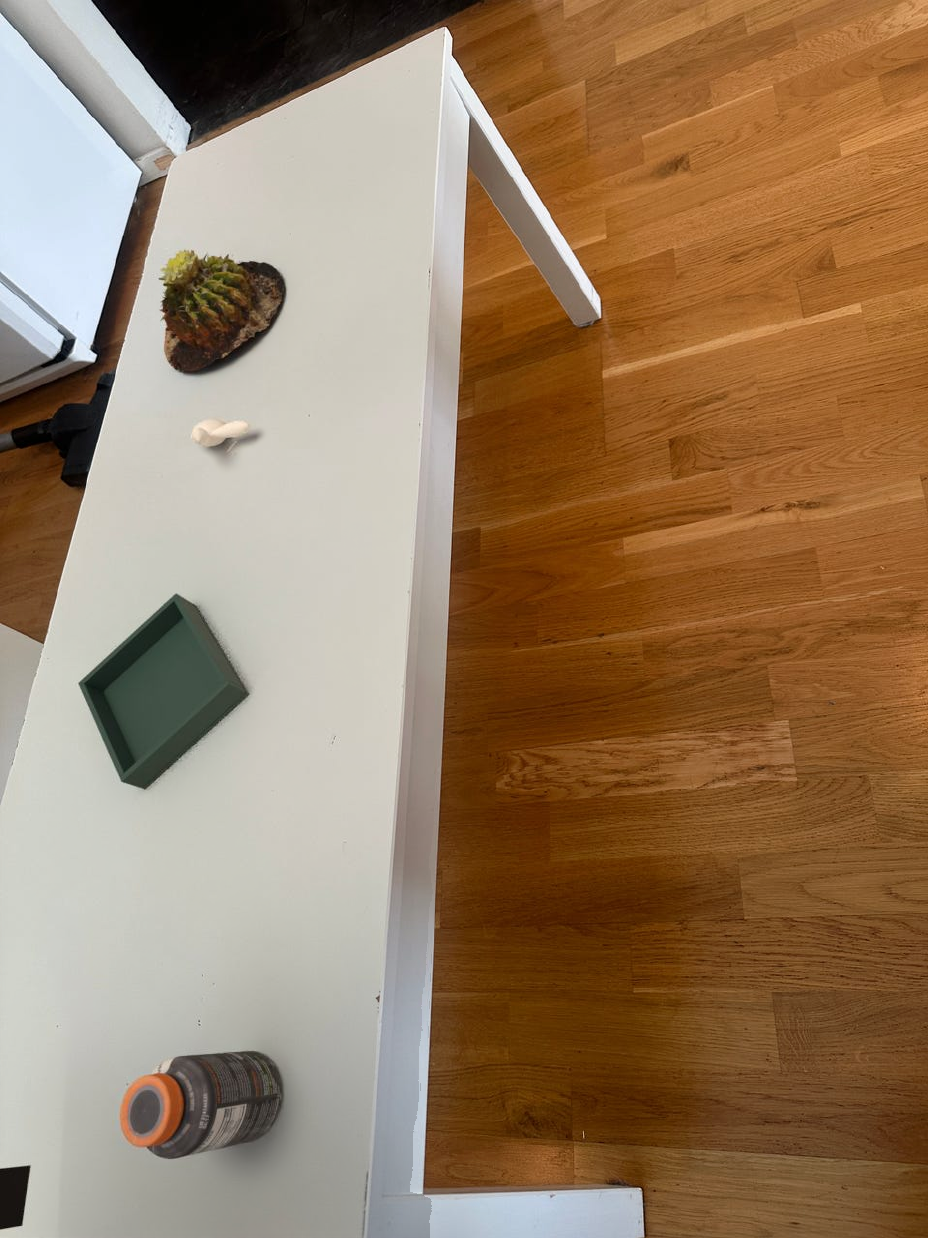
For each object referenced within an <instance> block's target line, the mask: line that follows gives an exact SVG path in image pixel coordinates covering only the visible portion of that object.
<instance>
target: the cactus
mask: <svg viewBox="0 0 928 1238" xmlns="http://www.w3.org/2000/svg"><path fill="white" fill-rule="evenodd" d="M174 254H175V256H174V258H173V257H170V258H168V260H167V263H165V264H164V266H166V267H162V268H160V269H159V270H160V272H163V276H161V277H158V280H159V281H164V282H163V283H162V286H163V287H166V289H165V288H164V291H162V294H164V296H163V299H162V300H161V301H160V303H161V305H160V307H162V308H161V309H159V311H160V312H162V313H163V314H164V315H162V318H161V319H160V321H164V322H165V334H164V335H165V336H164V343H163V352H164V356H165V358H166V361H167V362H168V364H169V365H170V366H171V367H173V369H175V370H177V371H179V372H180V373H183V372H187V371H188V372H193V371H196V370H197V371H198V370H201V369H204V368H205V367H208V366H210V365H212V364H213V362H214V361H215V360H222V359H223V358H225V357H226V356H228V355H229V353H231V352H232V351H234V350H235V349H237V348H238V347H239V346H243V342H247V341H248V340H249V339H250V338H251V337H252V338H255V336H256V334H255V333H260V332H262V331H264V330H266V328H267V327H268V326H270V324H271V320H272V319H273V317H274V316H275V314H276V313H277V311H278V309H279V305H280V304H281V301H283V299H282V298H283V293H284V292H285V283H284V281H283V278H282V275H281V272H280V271H279V269H277V268H276V267H274V265H272V264H270V263H267V262H265V261H262V262H258V261H255V260H253V261H252V260H249V261H243V260H241V261H240V260H239V261H238V262H235V261H234V260H233V259H231V258H229V257H230V253H227V254H226V256H225V257H224V258H223V256H222V255H219V256H217V255H210V256H209V255H208V254H209V253H208V251H207V252H206V254H205V255H204V256H203V258H199V256H198V254H196V253H195V250H192V249H191V250H189V249H186V248H184V249H183V250H178V253H177V252H174ZM233 255H234V254H231V257H232V258H233Z"/></svg>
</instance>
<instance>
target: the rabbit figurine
mask: <svg viewBox="0 0 928 1238" xmlns="http://www.w3.org/2000/svg"><path fill="white" fill-rule="evenodd" d="M250 429H251V423H249V422H248V421H246V420H234V421H230V422H227V423H226V422H225V421H223V420H222V419H219V418H207V419H204V420H202V421H199V422H198V423H197V424H195V426H194V427H193V428H192V430H191V435H190V437H189V438H190V439H191V440H192V441H193V442H194V444H196V445H198V446H201V447H215V446H218V445H220V444H222V443H223V442H224V441H225V440H226V439H227V438H228V439H229V438H234V437H239V436H242V435H244V434H245V433H247V432H248V431H249V430H250ZM237 443H238V441H237V440H235V441H234V442H233V443H232V444H231V445H230V446H229V448H227V450H226V453H229V452H230V451H231V450H232V449H233V448H234V446H235V445H236V444H237Z"/></svg>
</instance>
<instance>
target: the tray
mask: <svg viewBox="0 0 928 1238" xmlns="http://www.w3.org/2000/svg"><path fill="white" fill-rule="evenodd" d="M78 687H79V689H80V691H81V693H82V695H83V697H84V700H85V702H86V704H87V707H88V710H89V712H90V714H91V716H92V718H93V720H94V721H93V722H94V723H95V725H96V727H97V730H98V731H99V734H100V737H101V739H102V741H103V743H104V745H105V746H104V747H105V748H106V750H107V753H108V755H109V757H110V759H111V762H112V764H113V766H114V769H115V771H116V773H117V775H118V777H119V780H120V782H121V783H123V784H126V785H130V786H133V787H136V788H139V789H143V790H146V789H147V788H148V787H149V786H150V785H151V784H153V782H155V781H156V780H157V779H158V778H159V777H160V776H161V775H162V774H164V772H166V771H167V770H168V769H169V768H170V767H171V766H172V765H173V764H174V763H175V762H176V761H178V760H179V759H180V758H181V757H183V755H185V753H186V752H188V751H189V750H190V749H191V748H192V747H193V746H194V745H195V744H196V743H198V742H199V741H200V740H201V739H202V738H203V737H204V736H205V735H206V734H207V733H209V732H210V730H212V729H213V728H214V727H215V726H216V725H218V723H220V722H221V721H222V720H223V719H224V718H225V717H226V716H227V715H228V714H229V713H231V712H232V710H234V709H235V708H236V707H237V706H238V705H240V703H241V702H243V701H244V699H246V698H247V697H248V696H250V695H249V692H248V690H247V689H246V686H245V685H244V683H243V682H242V680H241V678H240V677H239V675H238V674H237V671H236V670H235V668H234V666H233V665H232V663H231V662H230V660H229V658H228V657H227V655H226V653H225V652H224V650H223V648H222V646H221V645H220V643H219V642H218V640H217V638H216V637H215V635H214V633H213V631H212V630H211V628H210V627H209V625H208V623H207V621H206V620H205V618H204V617H203V615H202V613H201V612H200V609H199V608H198V606H197V604H195V603H193V602H191V601H189V599H186V598H185V597H183V596H181V595H180V594H178V593H174V594H173V595H172V596H171V597H170V598H168V599H167V601H165V603H163V604H162V606H160V607H158V609H157V610H156V611H154V612H153V614H152V615H150V617H149V618H147V619H146V620H145V621H144V622H143V623H141V625H140V626H138V627H137V628H136V629H135V630H134V631H133V632H132V633H131V634H130V635H129V636H128V637H126V639H125V640H123V641H122V642H121V643H120V644H118V646H116V648H115V649H113V651H111V652H110V653H109V654H108V655H107V656H106V657H105V658H103V660H101V661H100V662H99V663H98V664H97V665H96V666H94V667H93V669H91V671H90V672H89V673H87V674H86V675H85V676H84V677H83V678H82V679H81V680H80V681H78Z"/></svg>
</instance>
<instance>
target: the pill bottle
mask: <svg viewBox="0 0 928 1238" xmlns="http://www.w3.org/2000/svg"><path fill="white" fill-rule="evenodd" d="M282 1097H283V1089H282V1081H281V1076H280V1073H279V1071H278V1068H277V1067H276V1065H275V1063H274V1062H273V1060H272V1059H270V1058H269V1057H268V1056H266V1055H265V1054H264V1053H261V1052H259V1051H256V1050H242V1051H230V1052H228V1051H227V1052H217V1053H216V1052H215V1053H204V1054H188V1055H178V1056H174V1057H171V1058H167V1059H166V1060H164V1061H162V1062H161V1063H160V1064H158V1066H156V1067H155V1068H154V1069H153V1070H152V1072H150V1074H146V1075H142V1076H140V1077H138V1078H137V1079H135V1080H134V1081H133V1082H132V1084H131V1085H130V1086H129V1087H128V1089H127V1090H126V1092H125V1094H124V1096H123V1099H122V1102H121V1105H120V1112H119V1123H120V1129H121V1132H122V1134H123V1136H124V1138H125V1139H126V1141H127V1142H128V1143H129V1144H130V1145H132V1146H134V1147H137V1148H147V1149H148V1151H149V1152H151V1153H152V1154H153V1155H154V1156H157V1157H158V1158H162V1159H165V1160H175V1159H181V1158H184V1157H190V1156H195V1155H197V1154H203V1153H208V1152H212V1151H216V1150H221V1149H224V1148H230V1147H235V1146H239V1145H243V1144H247V1143H248V1144H249V1143H253V1142H255V1141H257V1140H259V1139H260V1138H262V1137H263V1136H264V1135H265V1134H267V1132H268V1131H270V1129H271V1128H272V1127H273V1125H274V1123H275V1121H276V1119H277V1117H278V1115H279V1112H280V1109H281V1105H282Z"/></svg>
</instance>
